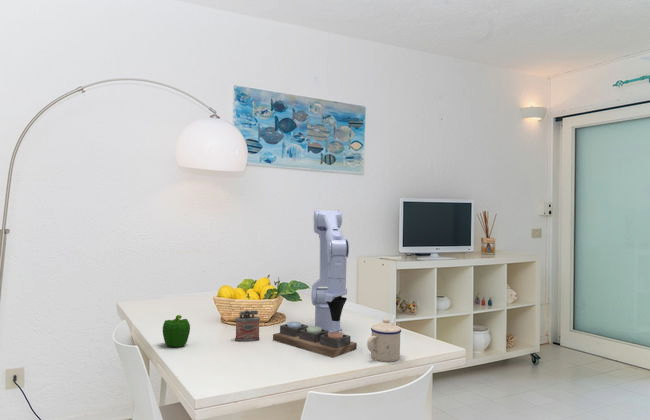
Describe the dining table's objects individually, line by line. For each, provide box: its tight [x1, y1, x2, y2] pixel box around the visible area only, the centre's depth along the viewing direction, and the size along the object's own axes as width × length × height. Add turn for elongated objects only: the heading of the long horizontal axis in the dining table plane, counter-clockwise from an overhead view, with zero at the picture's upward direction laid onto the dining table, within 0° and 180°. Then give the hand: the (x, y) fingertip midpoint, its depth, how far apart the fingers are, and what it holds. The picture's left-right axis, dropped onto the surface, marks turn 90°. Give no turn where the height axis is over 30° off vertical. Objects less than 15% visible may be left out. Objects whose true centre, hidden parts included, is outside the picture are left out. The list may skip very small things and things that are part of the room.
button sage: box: [307, 325, 321, 334], centre depth 156 cm, size 5×5×2 cm
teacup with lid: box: [366, 318, 402, 363], centre depth 144 cm, size 12×9×12 cm
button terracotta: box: [328, 331, 344, 339], centre depth 150 cm, size 5×5×2 cm
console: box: [272, 323, 358, 358], centre depth 156 cm, size 12×26×5 cm, turn 50°
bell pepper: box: [162, 314, 191, 348], centre depth 151 cm, size 8×8×10 cm
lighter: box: [234, 309, 261, 343], centre depth 159 cm, size 8×3×10 cm, turn 105°
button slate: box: [286, 321, 302, 329], centre depth 162 cm, size 5×5×2 cm
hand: (335, 320), depth 150 cm, fingers closed
